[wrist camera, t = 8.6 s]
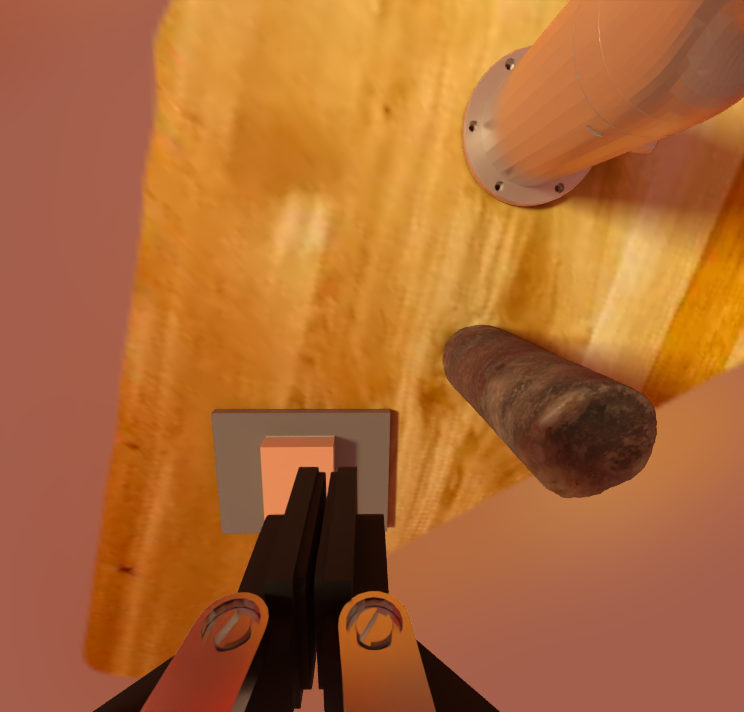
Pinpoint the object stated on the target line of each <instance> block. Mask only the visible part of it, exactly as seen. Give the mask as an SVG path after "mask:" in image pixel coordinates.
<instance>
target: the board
mask: <svg viewBox="0 0 744 712" xmlns="http://www.w3.org/2000/svg"><path fill="white" fill-rule="evenodd" d="M211 416H212V427H213V438H214V449H215V461H216V472H217V483H218V494H219V506H220V517H221V528H222V534H243V533H260V531H261V529H262V526H263V523H264V505H263V487H262V470H261V453H260V447H261V445H262V443H263V441H264V439H265V437H266V436H335V472H338V467H357V504H358V514H384V526H385V531H387V516H388V481H389V445H390V409H251V410H214V411H213V412H212V413H211Z"/></svg>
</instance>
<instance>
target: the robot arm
mask: <svg viewBox="0 0 744 712" xmlns="http://www.w3.org/2000/svg"><path fill="white" fill-rule="evenodd" d="M505 66H507V67H508V68H509V70H507V68H506V67H505ZM743 97H744V0H570V1H569V2H568V3H567V4H566V6H565V7H564V8H563V9H562V10H561V12H560V13H559V14H558V15H557V16H556V18H555V19H554V20H553V21H552V23H551V24H550V25H549V26H548V27H547V29H546V30H545V31H544V32H543V33H542V35H541V36H540V37H539V38H538V39H537V41H536V42H535V43H534V44H533V45H532V46H528V47H524V48H521V49H518V50H515V51H513V52H511V53H509V54H508V55H506V56H504V57H502V58H501V59H500V60H499V61H497V62H496V63H495V64H494V65H493V66H491V67H490V68H489V70H488V71H487V72H486V73H485V74H484V76H483V77H482V78H481V79H480V81H479V82H478V84H477V85H476V87H475V88H474V90H473V92H472V94H471V96H470V98H469V101H468V103H467V106H466V109H465V113H464V117H463V123H462V133H461V134H462V148H463V152H464V156H465V160H466V163H467V165H468V168H469V170H470V172H471V174H472V176H473V177H474V179H475V180H476V181H477V183H478V184H479V186H480V187H482V188H483V189H484V190H485V191H486V192H487V193H488V194H489V195H491V196H492V197H494V198H496V199H497V200H499V201H501V202H504V203H507V204H510V205H516V206H536V205H540V204H544V203H548V202H550V201H553V200H555V199H558V198H560V197H562V196H563V195H565V194H566V193H568V192H570V191H571V190H572V189H573V188H574V187H576V186H577V185H578V184H579V183H580V182H581V181H582V180H583V179H584V177H585V176H586V175H587V174H588V172H589V171H590V170H591V168H592V166H594V165H597V164H599V163H602V162H604V161H607V160H609V159H612V158H614V157H617V156H619V155H622V154H624V153H626V154H648V153H650V152H651V151H652V150H653V149H654V148H655V146H656V144H657V142H658V140H660V139H662V138H665V137H667V136H670V135H672V134H675V133H677V132H680V131H683V130H685V129H687V128H690V127H692V126H695V125H697V124H699V123H702V122H704V121H706V120H708V119H710V118H712V117H714V116H716V115H718V114H720V113H722V112H723V111H725V110H726V109H728V108H729V107H731V106H732V105H734V104H735V103H737V102H738V101H740V100H741V99H742V98H743ZM469 127H472V128H473V132H472V131H470V130H469ZM495 185H497V186H498V187H499V189H498V191H497V190H496V189H495ZM555 187H556V188H557V191H555ZM387 576H388V575H387V559H386V543H385V526H384V514H358V504H357V467H338V472H331V474H330V481H329V487H328V493H326V473H325V472H319V468H318V467H299V469H298V472H297V475H296V478H295V481H294V485H293V488H292V491H291V494H290V497H289V501H288V504H287V507H286V510H285V514H273V515H267V516H266V518H265V521H264V523H263V526H262V529H261V531H260V534H259V537H258V539H257V542H256V545H255V547H254V550H253V553H252V555H251V558H250V561H249V563H248V566H247V569H246V571H245V574H244V577H243V579H242V582H241V585H240V587H239V590H238V592H237V593H233V594H229V595H226V596H224V597H222V598H220V599H218V600H216V601H214V602H213V603H212V604H211V605H209V606H208V607H207V608H206V609H205V610H204V611H203V612H202V614H201V615H200V616H199V617H198V619H197V620H196V622H195V623H194V625H193V627H192V628H191V630H190V631H189V633H188V635H187V636H186V638H185V640H184V641H183V643H182V644H181V646H180V648H179V649H178V651H177V653H176V654H175V655H174V656H173V657H171V658H170V659H169V660H167V661H166V662H164V663H163V664H161V665H160V666H158V667H157V668H156V669H154V670H153V671H151V672H150V673H148V674H147V675H145V676H144V677H142V678H141V679H140V680H138V681H137V682H135V683H134V684H132V685H131V686H129V687H128V688H127V689H126V690H124V691H122V692H121V693H119V694H118V695H117V696H115V697H114V698H112V699H111V700H109V701H108V702H106V703H105V704H104V705H102V706H101V707H99V708H98V709H96V710H95V711H93V712H293V711H294V709H296V708H297V709H299V708H301V701H302V693H303V690H305V689H312V684H313V677H314V669H315V661H316V653H317V663H318V683H319V689H323V690H324V711H325V712H499V711H498V710H497V709H496V708H495V707H494V706H493V705H491V704H490V703H489V702H488V701H487V700H485V698H483V697H482V696H481V695H480V694H479V693H478V692H476V691H475V690H474V689H473V688H471V687H470V686H469V685H468V684H467V683H466V682H465V681H463V680H462V679H461V678H460V677H459V676H458V675H457V674H455V673H454V672H453V671H452V670H451V669H450V668H449V667H447V666H446V665H445V664H444V663H443V662H441V661H440V660H439V659H438V658H437V657H436V656H435V655H433V654H432V653H431V652H430V651H429V650H427V649H426V648H425V647H424V646H423V645H422V644H421V643H420V642H418V641H417V640H416V638H415V634H414V631H413V628H412V624H411V621H410V617H409V614H408V612H407V610H406V608H405V606H404V605H403V604H402V603H401V602H400V601H399V600H398V599H397V598H395V597H393V596H392V595H390V594H389V591H388V577H387Z"/></svg>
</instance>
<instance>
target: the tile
mask: <svg viewBox="0 0 744 712" xmlns="http://www.w3.org/2000/svg"><path fill="white" fill-rule="evenodd" d="M260 453H261V470H262V487H263V505H264V521H265V518H266V516H267V515H273V514H285V510H286V507H287V504H288V501H289V497H290V494H291V491H292V488H293V485H294V481H295V478H296V475H297V472H298V469H299V467H318V468H319V472H325V473H326V493H328V487H329V481H330V474H331V472H335V436H266V437H265V439H264V441H263V443H262V445H261V447H260Z"/></svg>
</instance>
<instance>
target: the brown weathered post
mask: <svg viewBox="0 0 744 712" xmlns="http://www.w3.org/2000/svg"><path fill="white" fill-rule="evenodd" d="M443 365H444V371H445V374H446V376H447V379H448V380H449V382H450V383H451V385H452V386H453V387H454V388H455V389H456V390H457V391H458V392H459V393H460V394H461V395H462V396H463V397H464V399H465V400H466V401H467V402H468V403H469V404H470V405H471V406H472V407H473V408H474V409H475V410H476V411H477V412H478V413H479V415H480V416H481V417H482V418H483V419H484V420H485V421H486V422H487V423H488V424H489V426H490V427H491V428H492V429H493V430H494V431H495V432H496V434H497V435H498V436H499V437H500V438H501V439H502V440H503V441H504V442H505V444H506V445H507V446H508V447H509V448H510V449H511V451H512V452H513V453H514V454H515V455H516V456H517V457H518V458H519V459H520V460H521V461H522V462H523V463H524V464H525V466H526V467H527V468H528V469H529V470H530V471H531V473H532V474H533V475H534V476H535V477H536V478H537V479H538V480H539V481H540V482H541V483H542V484H543V485H544V486H545V487H546V488H547V489H549V490H550V491H553V492H554V493H556V494H558V495H560V496H561V497H563V498H572V497H578V498H581V497H590V496H592V495H597V494H601V493H602V492H603V491H604V490H607V489H609V488H610V487H614V486H617V485H619V484H621V483H623V482H625V481H627V480H630V479H632V478H633V477H634V476H635V475H637V474H638V473H639V472H640V471H641V470H642V469H643V468H644V467H645V465H646V463H647V461H648V459H649V457H650V455H651V453H652V448H653V445H654V443H655V438H656V435H657V429H656V425H657V421H656V413H655V410H654V407H653V405H652V404H651V402H650V401H649V399H648V398H647V397H646V396H644V395H643V394H642V393H640V392H638V391H636V390H635V389H633V388H631V387H629V386H626V385H624V384H622V383H620V382H617V381H615V380H613V379H611V378H609V377H606V376H604V375H601V374H599V373H596V372H594V371H592V370H590V369H588V368H586V367H583V366H581V365H579V364H576V363H574V362H571V361H568V360H566V359H564V358H562V357H560V356H558V355H556V354H553V353H551V352H549V351H547V350H545V349H542V348H540V347H538V346H536V345H534V344H532V343H529V342H527V341H525V340H523V339H521V338H519V337H517V336H514V335H512V334H510V333H508V332H505V331H503V330H501V329H498V328H495V327H492V326H488V325H475V326H471V327H465V328H463V329H460V330H459V331H458V332H456V333H455V334H454V335H453V336H452V337H451V339H450V340H449V342H448V344H447V346H446V347H445V350H444V353H443Z"/></svg>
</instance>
